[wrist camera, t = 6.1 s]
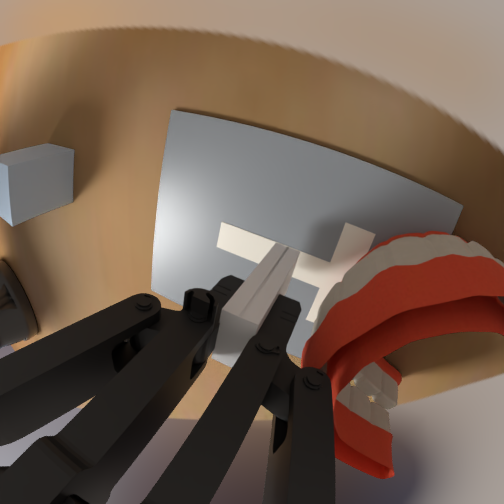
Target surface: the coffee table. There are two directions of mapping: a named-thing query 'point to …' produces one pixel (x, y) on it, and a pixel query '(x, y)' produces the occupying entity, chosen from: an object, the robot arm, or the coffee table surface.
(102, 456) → the robot arm
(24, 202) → the block
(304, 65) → the coffee table surface
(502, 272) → the toy
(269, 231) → the letter card
